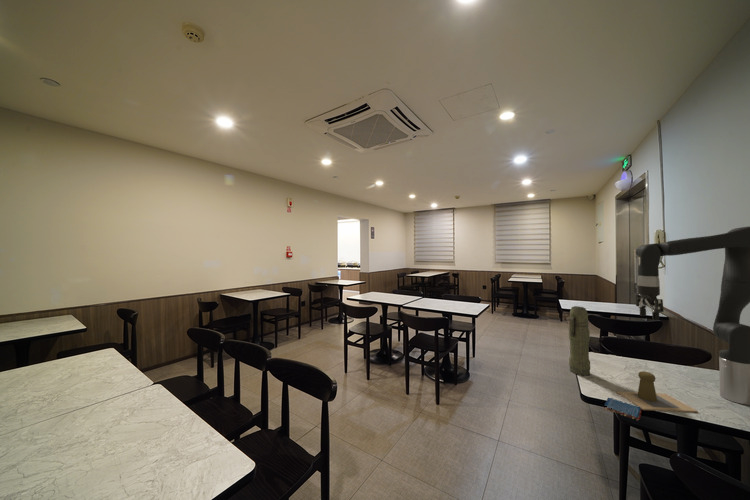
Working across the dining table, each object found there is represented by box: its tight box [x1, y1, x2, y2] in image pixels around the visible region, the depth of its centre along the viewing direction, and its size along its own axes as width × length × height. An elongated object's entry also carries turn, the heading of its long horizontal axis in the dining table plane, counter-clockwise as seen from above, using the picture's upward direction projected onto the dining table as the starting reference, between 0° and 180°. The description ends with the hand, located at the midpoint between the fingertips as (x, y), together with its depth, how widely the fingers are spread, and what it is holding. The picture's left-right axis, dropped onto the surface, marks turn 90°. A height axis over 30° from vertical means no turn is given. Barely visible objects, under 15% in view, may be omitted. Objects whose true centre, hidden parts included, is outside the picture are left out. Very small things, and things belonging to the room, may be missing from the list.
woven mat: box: [603, 397, 642, 421], centre depth 107 cm, size 10×11×2 cm
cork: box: [637, 370, 657, 402], centre depth 114 cm, size 6×6×11 cm
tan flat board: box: [616, 391, 699, 413], centre depth 112 cm, size 20×13×1 cm, turn 84°
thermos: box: [568, 305, 591, 377], centre depth 140 cm, size 9×12×35 cm
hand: (649, 318), depth 128 cm, fingers open, 8 cm apart
